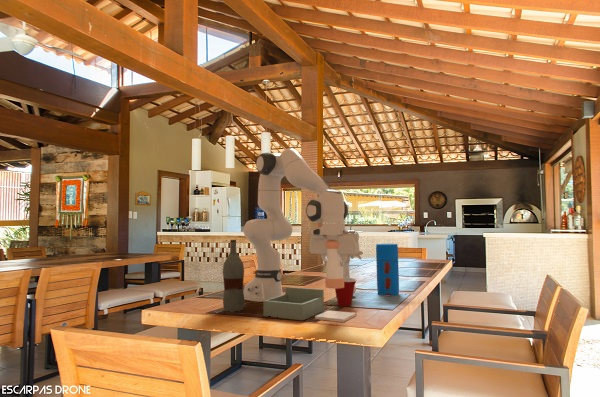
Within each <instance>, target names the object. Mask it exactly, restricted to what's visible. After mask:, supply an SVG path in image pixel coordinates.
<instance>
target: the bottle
mask: <svg viewBox="0 0 600 397" xmlns="http://www.w3.org/2000/svg"><path fill="white" fill-rule="evenodd" d="M229 242H230V244H229V246H230V248H229V250H230V251H229V253H228V255H227V258H226V259H225V260H224V263H223V265H222V276H223V288H224V289H223V290H224V291H223V298H222V304H223V306H222V307H223V310H225V311H230V312H229V313H235V312H234V311H239V312H242V311H241V310H243V311H244V309H245V301H246V300H244V279H245V278H244V277H245V265H244V262H243V260H242V259H241V258H240V255H238V253H237V239H230V241H229ZM225 311H224V312H225Z"/></svg>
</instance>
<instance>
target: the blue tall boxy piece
mask: <svg viewBox="0 0 600 397" xmlns="http://www.w3.org/2000/svg"><path fill="white" fill-rule="evenodd" d="M375 251H376V252H375V255H376V258H375V259H376V290H377V294H378V295H379V296H384V295H385V296H386V295H394V296H399V295H398V294H400V278H399V277H400V275H399V274H400V273H399V272H400V270H399V269H400V268H399V247H398V243H376V246H375ZM386 297H387V296H386Z"/></svg>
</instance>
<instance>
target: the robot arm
mask: <svg viewBox="0 0 600 397" xmlns="http://www.w3.org/2000/svg"><path fill="white" fill-rule="evenodd" d="M255 161H256V163H255V168H256V170H257V172H258V173H259V177H258V178H259V179H258V185H257V186H258V188H257V206H258V208H259V209H260V210H262V211H263V212H264V213H265V214H266V218H255V219H250V220H248V221H246V222H245V224H244V225H243V234H244V237H245V238H246V239H247V241H249V242H250V243H251V245H252V246H253V247H254V249H255V253H256V258H257V259H256V260H257V269H256V270H254V271H253V273H252V274H253V275H254V277H253V278H252V279H251V280H250V281H249V282H247V283H246V284H245V285H244V286H243V293H244V300H245V301H252V302H257V303H261V302H263V301H264V300H268V299H271V298H274V297H278V296H281V295H284V291H283V289H282V286H283V285H282V269H281V255H280V254H281V253H280V252H279V251H278V250H277V249H275V248H274V247H273V246H272V243H271V242H273V241H277V242H278V241H284V240H287V239H289V238H290V237H291V236H292V234H293V225H292V223H291V222H290V220H289V219H287V218H286V216H285V214H284V212H283V209H282V205H281V204H282V203H281V201H282V200H281V196H282V195H281V191H282V190H281V189H282V188H281V186H282V185H281V181H282V179H283V178H285V179H286V180H287V181H288V182H289V183H290V184H291V185H292V186H294V187H297V188H299V189H303V190H304V189H305V190H308V191H311V192H314V193H315V194H317V195H318V197H316V198H313V199H311V200H309V202H308V203H307V204H306V207H305V208H306V209H305V213H306V216H307V219H308V220H309V221H311V222H312V223H313V222H314V223H322V225H321V226H319V227H317V228H314V229H311V231H310V235H311V237H310V239H309V252H310V254H311V255H320V257H321V259H322V261H323V266H324V267H325V266H326V265H327V249H328V248H326V246H325V243H326V242H327V241H329V240H335V241H338V242H339V247H338V248H337V254H342V257H344V258H343V260H342V262H340V266H345V261H346V259H347V258H348V255H357V254H358V253H359V251H361V250H360V242H359V240H360V239H359V238H360V236H359V232H357V231H356V230H349V229H348V230H346V224H345V222H346V221H345V220H346V219H347V217H348V215H349V208H348V207H349V206H348V205H347V203H346V202H345V200H344V194H343V192H342V191H341V190H338V189H332V188H331V187H330V185H328V183H327V182H326V181H325V180H324V179H323V178H322V177H321V176H320V175H319V174H317V173H316V172H315V171H314V170H313V169H312V168H311V167H310V166H309V164H308V163H307V162H306V160H305V158H304V157H303V156H302V155H301V154H300V153H299V152H298V151H297V150H296V149H294V148H286V149H284V150H283V151H281V152H263V153H260V154H259V155H258V156H257V158H256V160H255Z"/></svg>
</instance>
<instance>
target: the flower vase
mask: <svg viewBox="0 0 600 397" xmlns="http://www.w3.org/2000/svg"><path fill="white" fill-rule="evenodd" d="M362 255H364V252H363V251H361V250H360V251H359V253H358V254H357V255H348V258H347V259H346V261H345V266H343V277H346V278H351V275H350V261H351V259H352V260H353V259H354V258H355V257H357V258H358V260H362V257H361V256H362ZM343 258H344V257H342V254H341V260H343ZM356 291H357V288H356V285H355V286H354V291H353V295H355V293H356Z"/></svg>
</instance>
